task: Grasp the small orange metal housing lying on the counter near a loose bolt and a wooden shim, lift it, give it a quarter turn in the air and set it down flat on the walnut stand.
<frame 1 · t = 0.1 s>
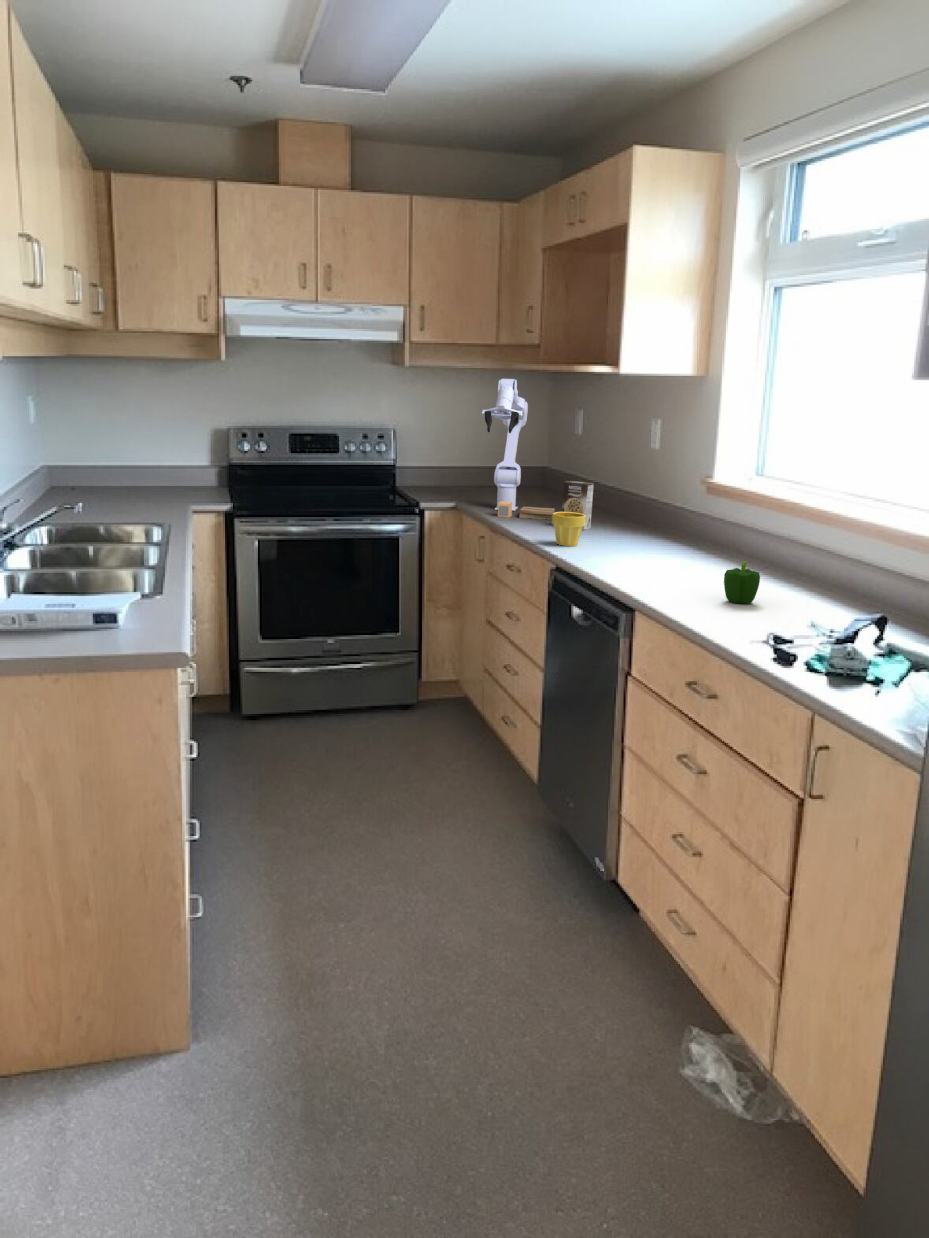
hand: (499, 430, 357), 32 cm above the worktop, tool tilted 50°, fingers open, 7 cm apart
brown cookie box: (575, 528, 351), on the worktop
plant pot: (567, 545, 317), on the worktop
stand: (537, 517, 373), on the worktop
housing: (504, 516, 374), on the worktop
bell pepper: (740, 603, 245), on the worktop
shim: (547, 515, 380), on the worktop
bolt: (528, 513, 381), on the worktop
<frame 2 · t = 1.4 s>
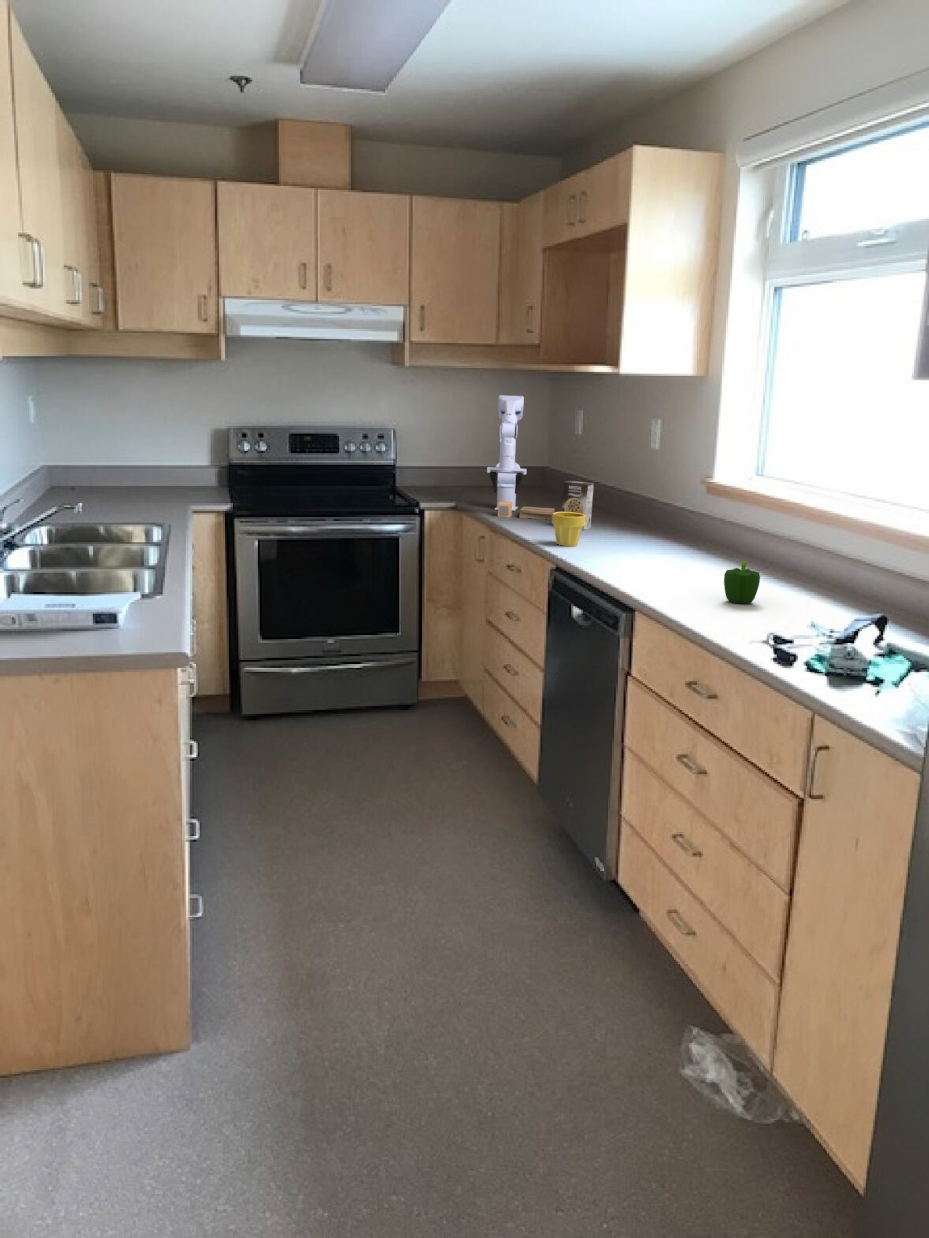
hand: (505, 493, 372), 8 cm above the worktop, tool pointing down, fingers open, 7 cm apart
nothing on the worktop moved.
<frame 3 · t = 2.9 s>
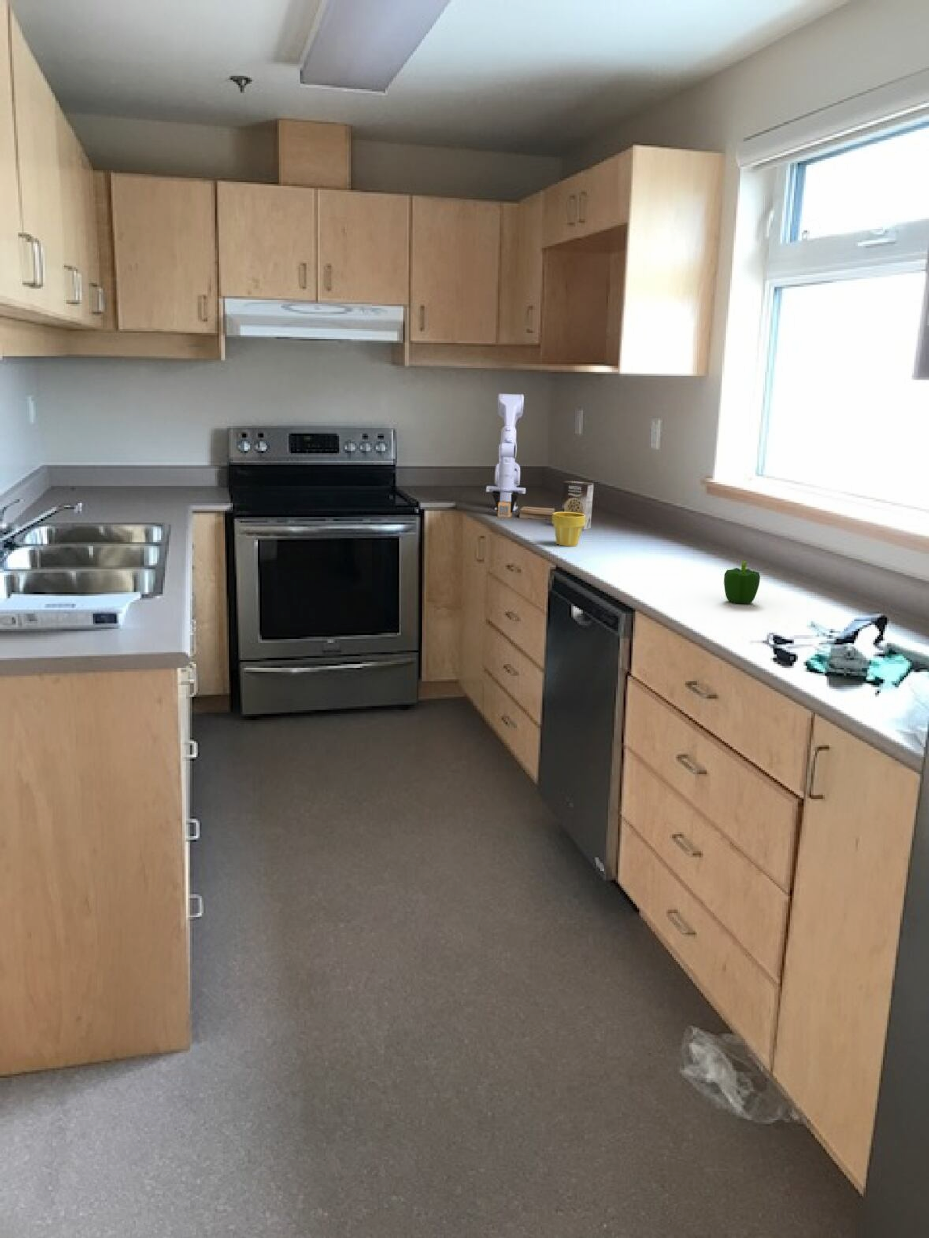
hand: (504, 511, 374), 1 cm above the worktop, tool pointing down, fingers closed on housing, 4 cm apart
housing: (504, 515, 374), on the worktop, touching gripper
everything else where it was.
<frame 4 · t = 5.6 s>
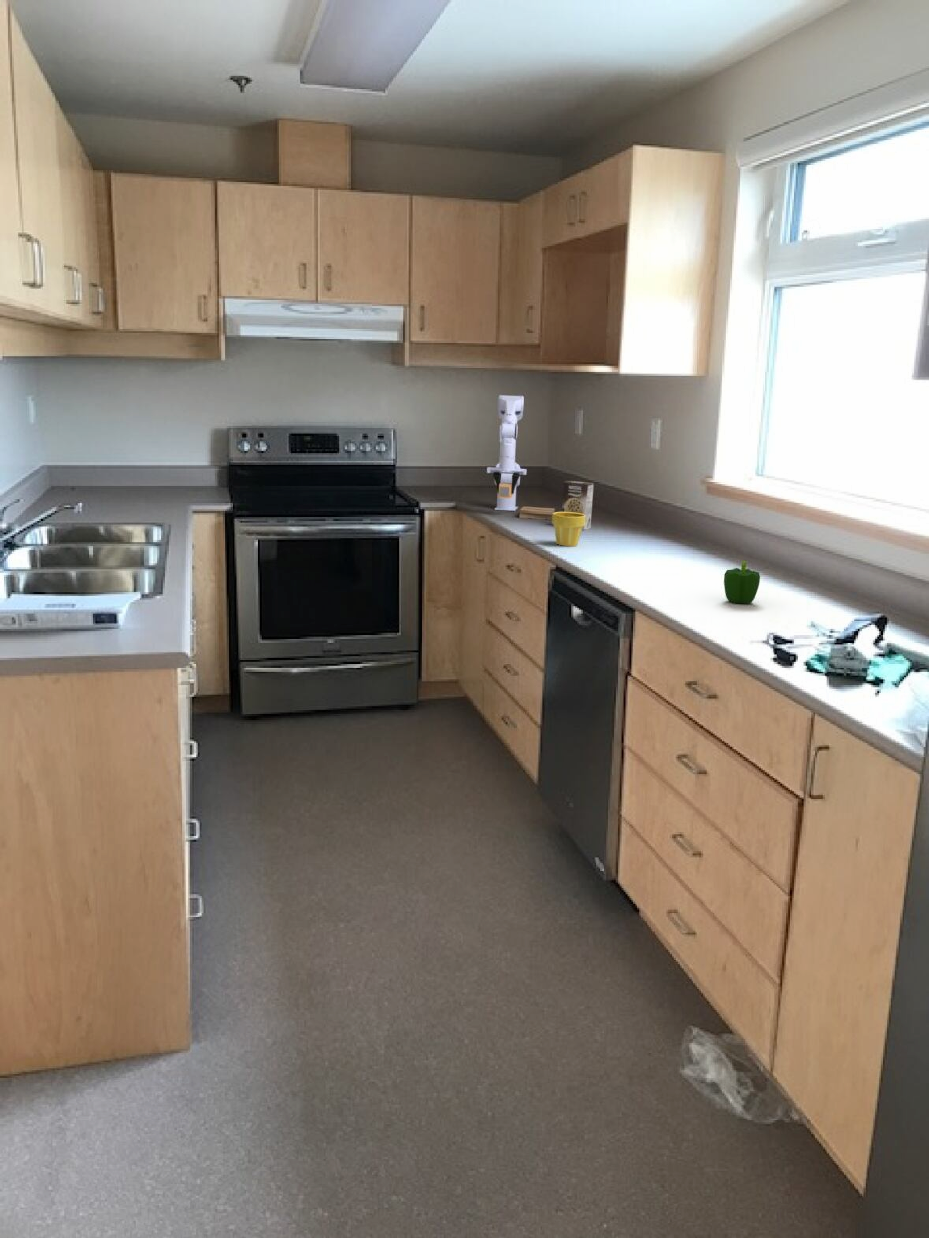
hand: (505, 493, 372), 8 cm above the worktop, tool pointing down, fingers closed on housing, 4 cm apart
housing: (505, 497, 373), point 7 cm above the worktop, touching gripper
everything else where it was.
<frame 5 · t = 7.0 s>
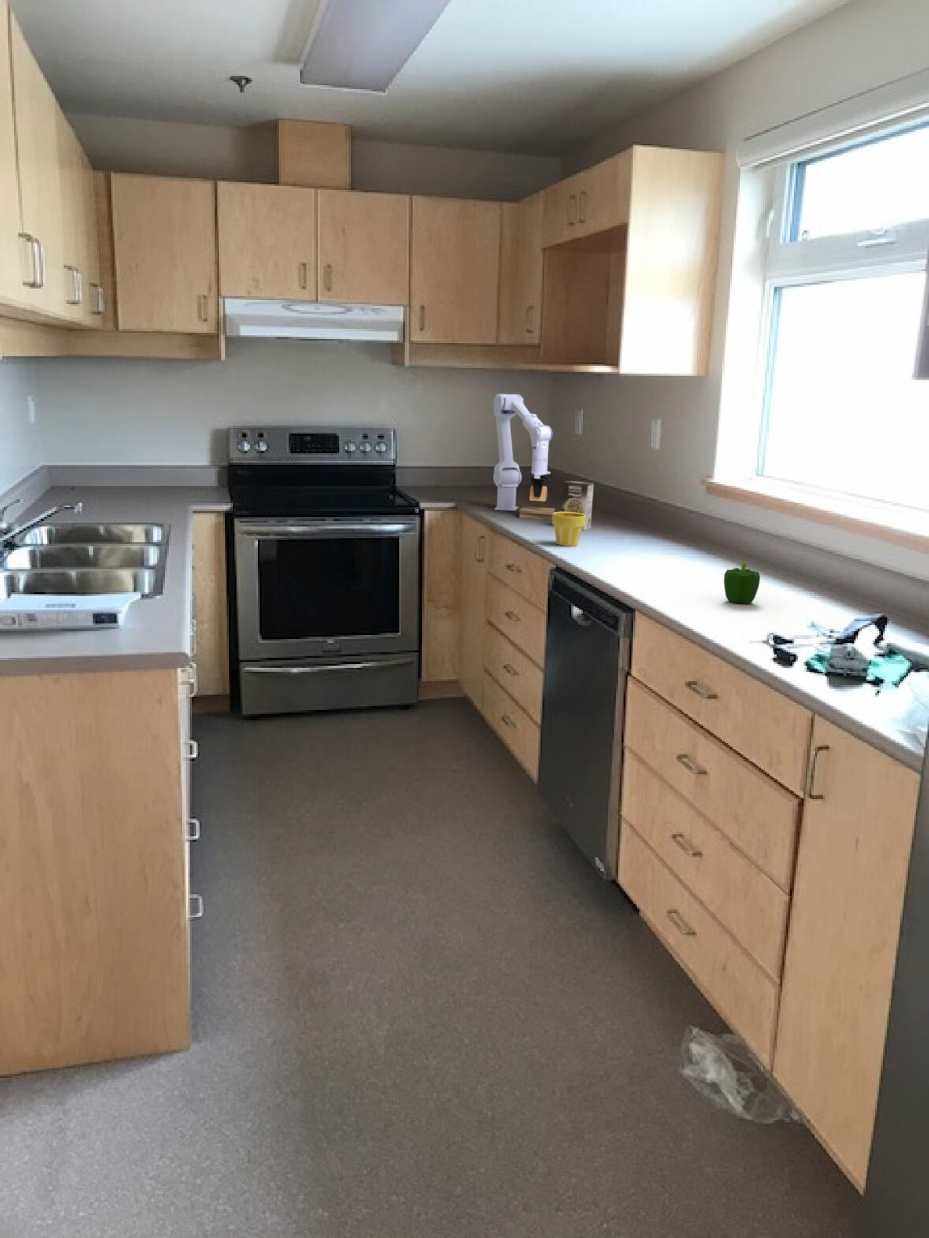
hand: (538, 496, 371), 8 cm above the worktop, tool pointing down, fingers closed on housing, 4 cm apart
housing: (537, 500, 372), point 6 cm above the worktop, touching gripper
everything else where it was.
when the fingers open (6 cm above the worktop, at t = 8.3 s): housing drops 1 cm, resting on stand.
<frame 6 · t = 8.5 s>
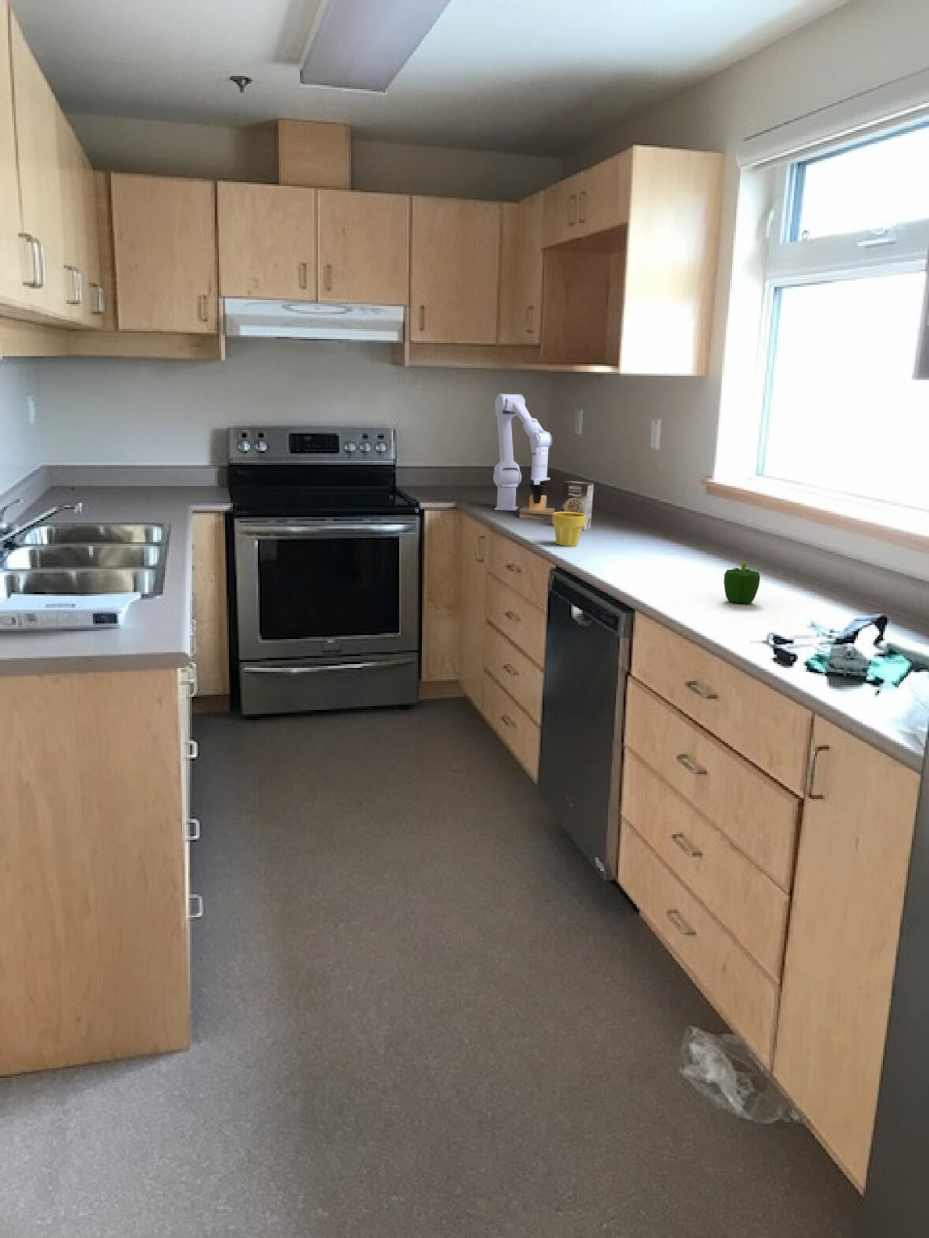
hand: (537, 502, 372), 6 cm above the worktop, tool pointing down, fingers open, 6 cm apart
housing: (537, 509, 372), point 3 cm above the worktop, touching stand
everything else where it was.
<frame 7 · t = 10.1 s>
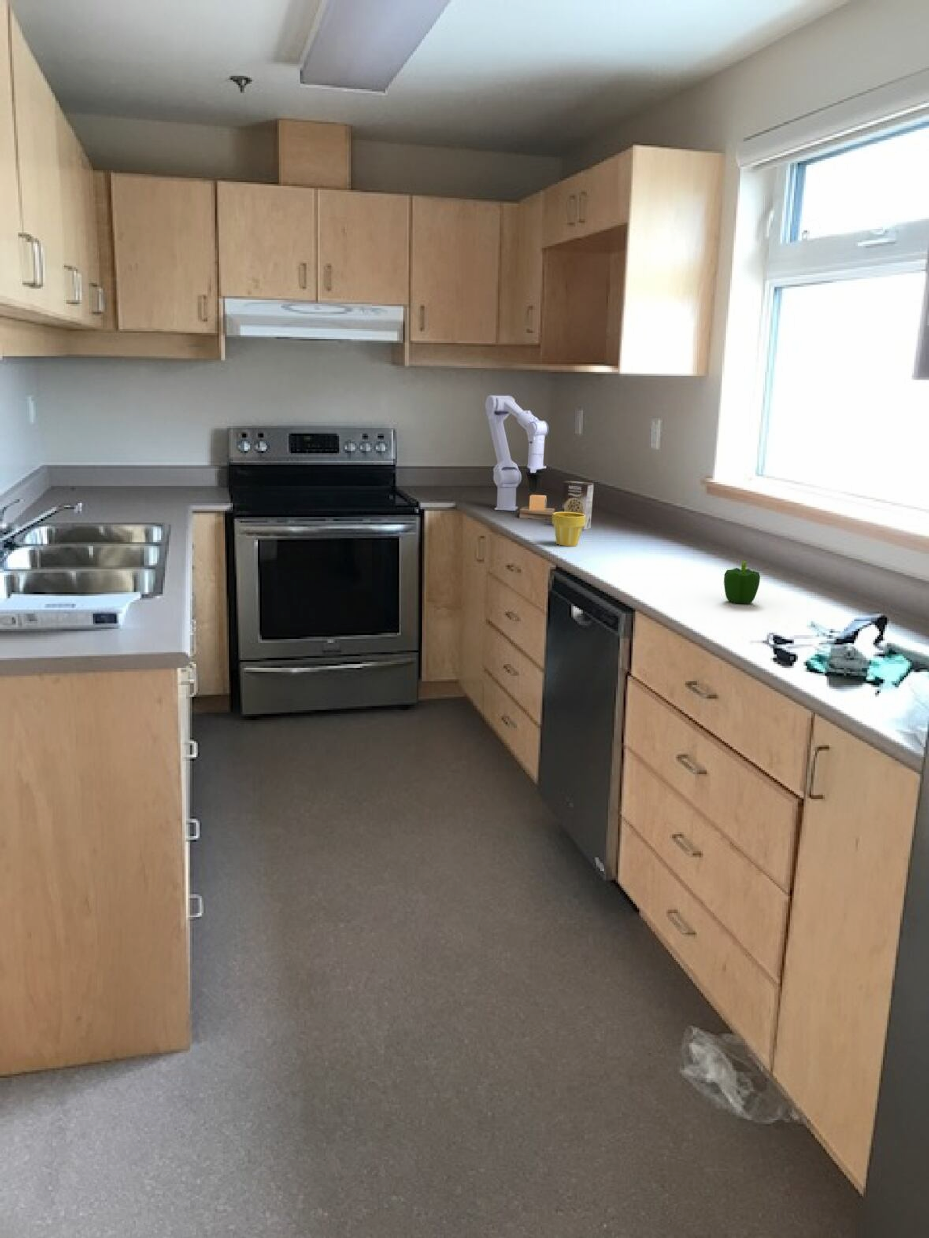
hand: (534, 490, 375), 9 cm above the worktop, tool pointing down, fingers open, 7 cm apart
nothing on the worktop moved.
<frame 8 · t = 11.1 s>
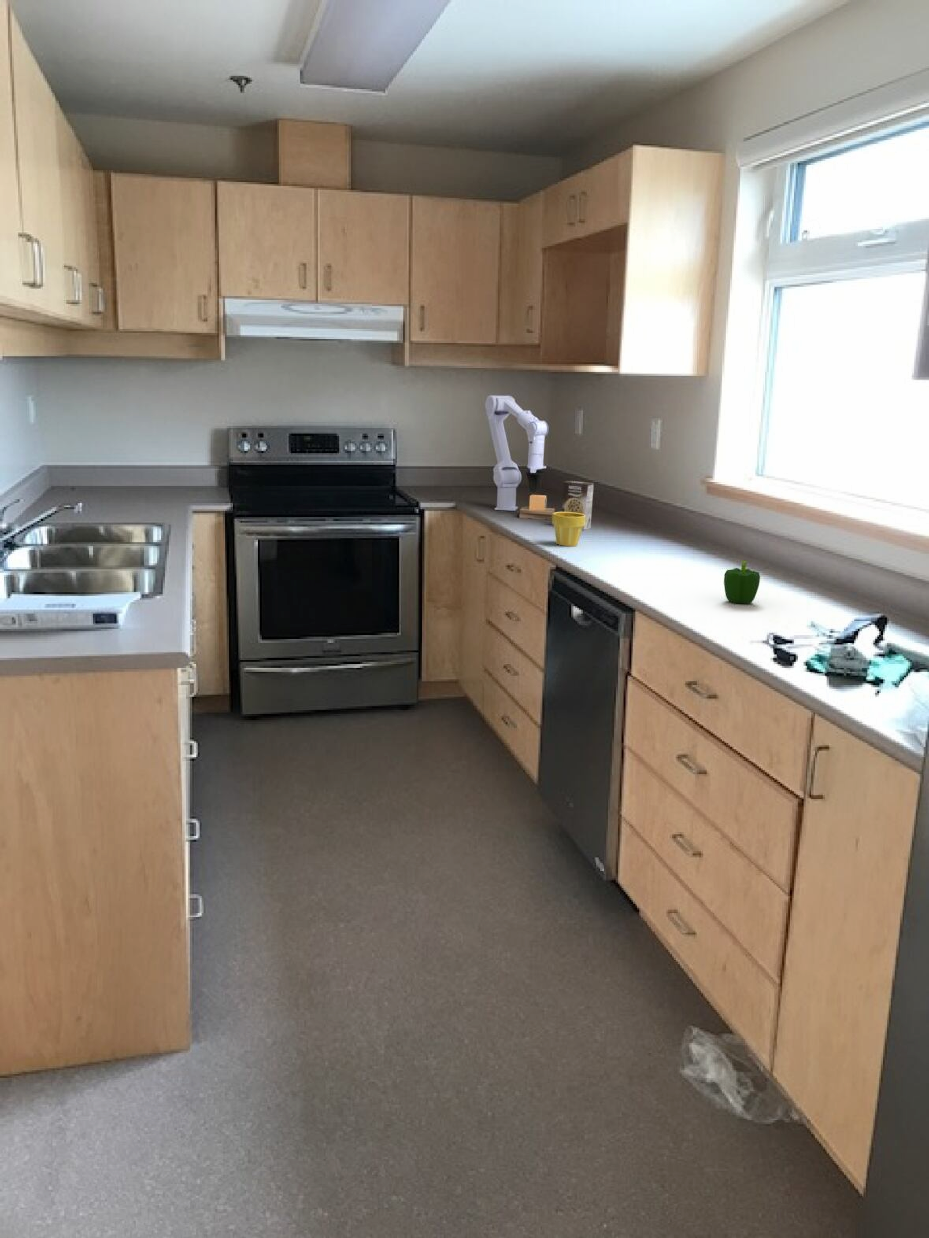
hand: (534, 490, 375), 9 cm above the worktop, tool pointing down, fingers open, 7 cm apart
nothing on the worktop moved.
at the end: housing inside the target area on the stand (0.0 cm from its centre), point 3.0 cm above the stand's base; housing tilted 0°; the gripper is holding nothing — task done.
